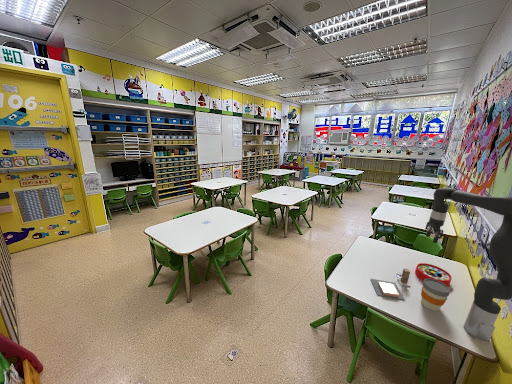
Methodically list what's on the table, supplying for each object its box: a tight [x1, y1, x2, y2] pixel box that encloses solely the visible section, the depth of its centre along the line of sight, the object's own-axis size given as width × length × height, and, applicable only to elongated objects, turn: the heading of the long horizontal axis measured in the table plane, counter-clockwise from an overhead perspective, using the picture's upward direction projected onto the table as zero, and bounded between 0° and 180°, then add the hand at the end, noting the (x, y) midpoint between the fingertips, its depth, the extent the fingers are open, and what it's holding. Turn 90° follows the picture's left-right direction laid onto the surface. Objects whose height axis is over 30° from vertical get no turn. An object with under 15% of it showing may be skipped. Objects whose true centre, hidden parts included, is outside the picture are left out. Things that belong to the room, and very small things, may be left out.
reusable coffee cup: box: [420, 278, 451, 312], centre depth 126 cm, size 13×13×15 cm
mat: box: [370, 278, 406, 301], centre depth 140 cm, size 16×16×1 cm
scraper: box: [396, 268, 411, 288], centre depth 145 cm, size 6×6×11 cm
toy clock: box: [414, 262, 452, 287], centre depth 152 cm, size 20×6×20 cm
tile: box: [378, 282, 399, 297], centre depth 138 cm, size 2×9×10 cm
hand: (431, 239), depth 139 cm, fingers open, 8 cm apart
